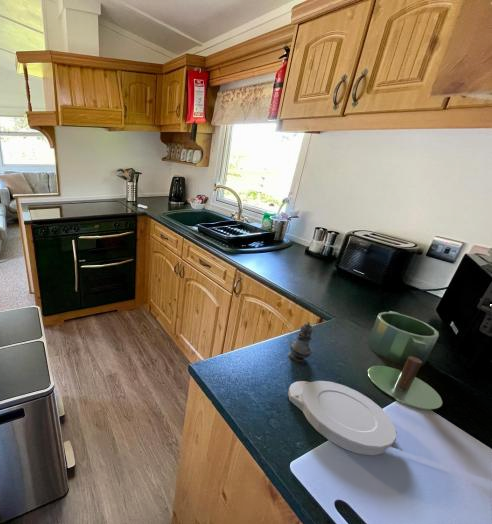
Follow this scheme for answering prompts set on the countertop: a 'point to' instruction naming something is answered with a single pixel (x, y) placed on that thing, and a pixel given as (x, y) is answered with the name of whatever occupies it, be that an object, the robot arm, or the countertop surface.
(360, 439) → the lid
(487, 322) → the robot arm
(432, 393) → the pot lid
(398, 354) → the pot
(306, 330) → the grey chess piece
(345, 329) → the countertop surface
